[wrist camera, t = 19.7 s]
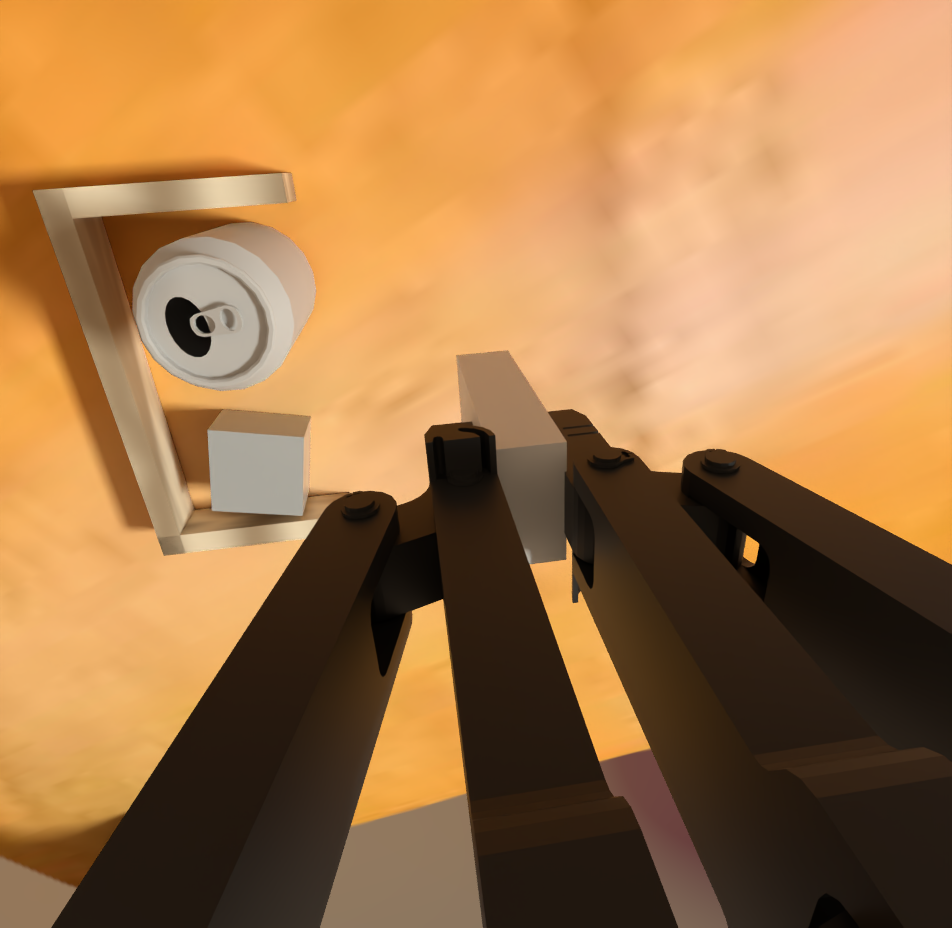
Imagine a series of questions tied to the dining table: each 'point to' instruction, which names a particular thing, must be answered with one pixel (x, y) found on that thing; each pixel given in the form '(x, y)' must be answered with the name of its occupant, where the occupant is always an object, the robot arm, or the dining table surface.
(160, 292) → the can
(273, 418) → the pale grey square block
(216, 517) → the tray
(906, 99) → the dining table surface
